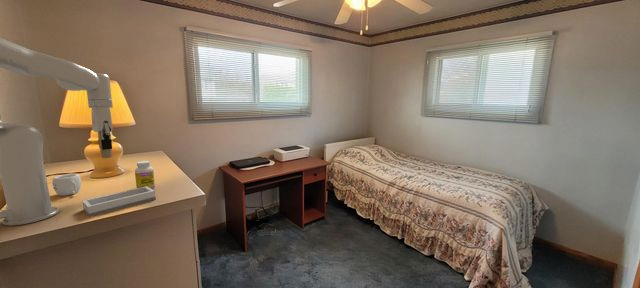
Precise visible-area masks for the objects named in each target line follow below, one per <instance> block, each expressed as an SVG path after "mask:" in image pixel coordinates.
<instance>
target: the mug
mask: <svg viewBox="0 0 640 288" xmlns="http://www.w3.org/2000/svg"><path fill="white" fill-rule="evenodd" d="M51 183H52V188H53V190H54V191H55V194H57V195H58V196H61V197H65V196H67V197H68V196H72V195H77V193H79V192H80V190H81V187H82V179H81V176H80V175H79V174H78V173H66V174H60V175H57V176H54V177H53V178H52V182H51Z"/></svg>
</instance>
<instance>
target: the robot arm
mask: <svg viewBox="0 0 640 288" xmlns="http://www.w3.org/2000/svg"><path fill="white" fill-rule="evenodd" d="M0 68H1V69H4V70H7V71H10V72H12V73H16V74H21V75H25V76H30V77H39V78H48V79H52V80H55V82H56V84H57V85H58V86H59V87H61V88H62V89H63V90H66V91H73V92H75V91H78V92H79V91H86V95H87V105H88V108H89V109H91V110H90V111H91V125H92V126H91V128H92V131H93V132H95V133H97V138H98V139H97V142H98V143H99V132H100V131H101V136H102V140H101V144H102V149H103V150H105V149H113V143H112V136H111V135H112V134H111V133H112V131H113V119H112V112H111V109H113V108H114V107H113V106H114V105H113V100H112V99H113V97H112V89H111V79H110V76H109V75H108V74H105V73H100V72H94V71H92V70H91V69H89V68H86V67H84V66H82V65H79V64H77V63H75V62H72V61H69V60H67V59H63V58H60V57H56V56H52V55H50V54H46V53H44V52H43V53H42V52H39V51H35V50H32V49H29V48H27V47H24V46H22V45H21V44H20V45H19V44H17V43H15V42H13V41H10V40H7V39H5V38H2V37H0ZM1 119H2V116H1V115H0V179H1V185H2V188H3V194H4V199H5V203H6V206H5V209H2V210H0V220H1V219H2V221H1V223H2V225H4V226H11V227H12V226H21V225H27V224H31V223H35V222H36V223H37V222H40V221H43V220H46V219H49V218H52V217H53V216H55V215H57V214H58V213H59V212H60V210H59V209H60V208H59V207H57V206H52V201H51V197H50V196H51V195H50V189H49V186H48V178H47V174H46V170H45V169H46V168H45V165H44V156H43V155H44V153H43V150H44V139H43V138H44V137H43V136H42V133H41V132H40V131H39V130H38V129H37V128H36V127H34V126H32V125H29V124H26V123H17V122H4V121H2V120H1ZM103 130H105V132H103ZM98 148H99V149H100V146H99V145H98Z"/></svg>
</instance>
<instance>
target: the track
mask: <svg viewBox="0 0 640 288" xmlns="http://www.w3.org/2000/svg"><path fill="white" fill-rule="evenodd" d="M156 199H157V198H156V191H155V189H154V190H152V189H151V188H149V187H147V186H145V187H141V188H137V187H136V188H132V189H129V190H124V191H120V192H114V193H111V194H110V193H109V194H106V195H101V196H96V197H93V198H88V199H83V200H81V201H82V209H83V212H85V214H87V216H88V217H95V216H98V215H102V214H106V213H110V212H113V211H117V210H121V209H125V208H127V207H132V206H135V205H136V206H137V205H139V204H144V203H148V202H150V201H151V202H152V201H154V200H156Z"/></svg>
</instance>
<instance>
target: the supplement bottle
mask: <svg viewBox="0 0 640 288" xmlns="http://www.w3.org/2000/svg"><path fill="white" fill-rule="evenodd" d="M150 161H151V160H140V161H138V162H136V166H137V168H135V169H134V176H135V185H136V188H141V187H145V186H147V187H149V188H151V189H152V190H154V191H155V190H156V184H155V175H154V174H155V172H154V168H153V167H152V166H150V165H151V162H150Z"/></svg>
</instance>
